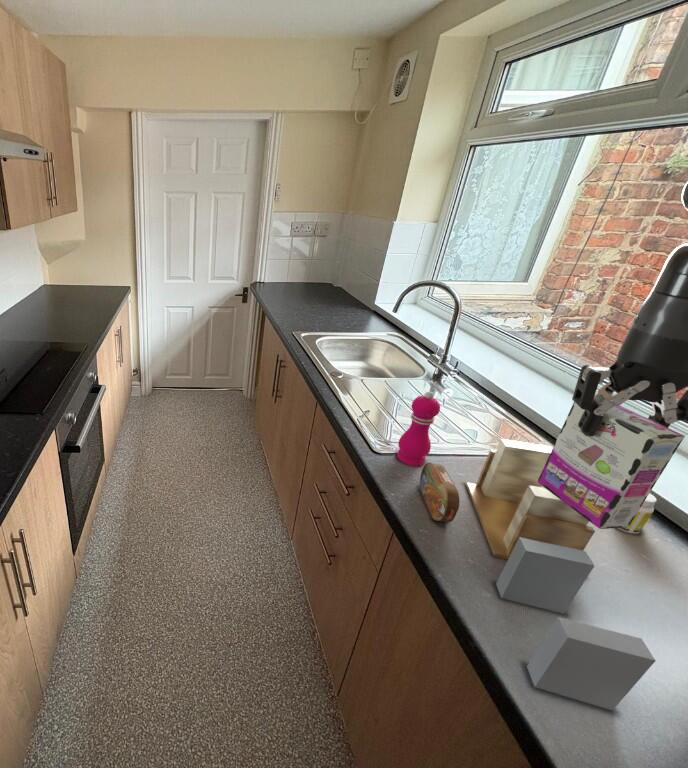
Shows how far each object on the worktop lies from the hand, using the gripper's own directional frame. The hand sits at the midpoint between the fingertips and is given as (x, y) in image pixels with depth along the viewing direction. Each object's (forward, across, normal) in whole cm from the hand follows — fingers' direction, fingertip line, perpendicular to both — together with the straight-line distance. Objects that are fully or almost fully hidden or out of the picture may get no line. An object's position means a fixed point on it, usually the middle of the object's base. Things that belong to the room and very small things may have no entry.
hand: (615, 437), depth 61 cm
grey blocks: (+32, -2, -11) cm, 34 cm away
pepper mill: (+32, -16, +34) cm, 49 cm away
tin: (+32, -13, +17) cm, 39 cm away
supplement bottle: (+33, +23, +22) cm, 46 cm away
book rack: (+32, +2, +16) cm, 36 cm away
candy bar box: (+13, 0, 0) cm, 13 cm away
